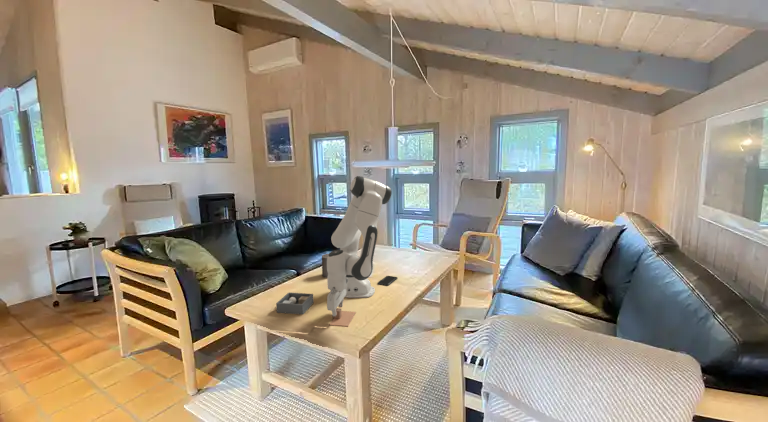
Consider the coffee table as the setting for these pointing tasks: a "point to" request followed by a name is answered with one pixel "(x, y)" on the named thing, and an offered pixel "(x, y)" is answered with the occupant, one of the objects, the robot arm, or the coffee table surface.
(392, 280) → the phone
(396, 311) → the coffee table surface
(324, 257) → the pillar candle
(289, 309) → the storage box
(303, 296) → the birch cube
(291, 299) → the off-white ball
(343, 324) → the lid
